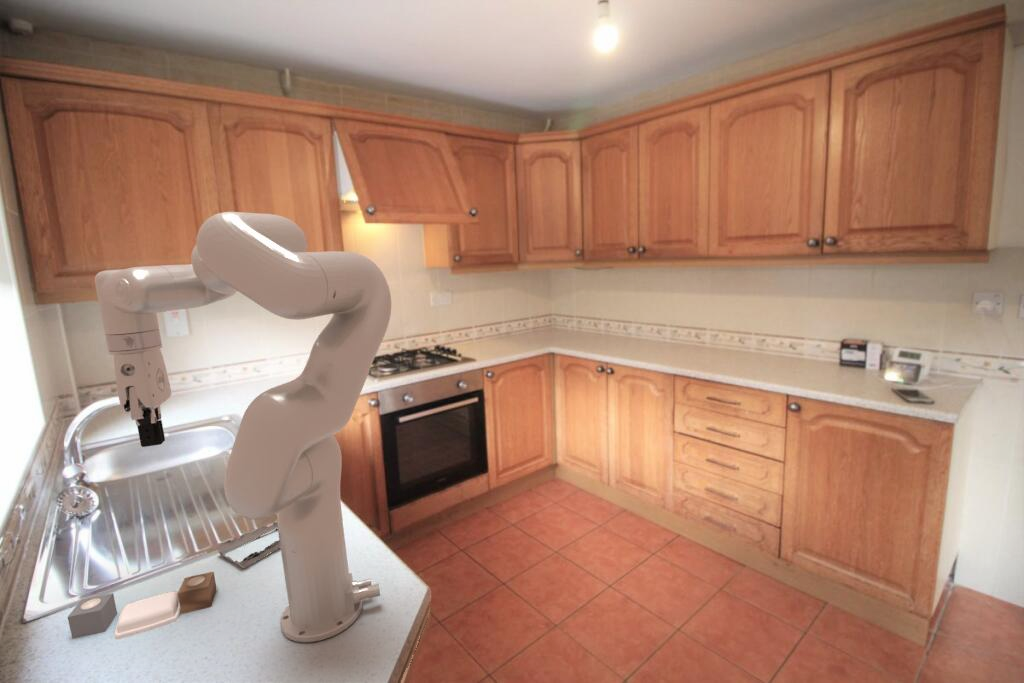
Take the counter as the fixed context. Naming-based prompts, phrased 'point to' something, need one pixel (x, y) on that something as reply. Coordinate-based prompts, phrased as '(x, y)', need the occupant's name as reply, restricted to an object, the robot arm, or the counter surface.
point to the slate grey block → (92, 615)
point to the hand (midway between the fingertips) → (153, 444)
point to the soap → (148, 614)
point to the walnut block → (197, 592)
